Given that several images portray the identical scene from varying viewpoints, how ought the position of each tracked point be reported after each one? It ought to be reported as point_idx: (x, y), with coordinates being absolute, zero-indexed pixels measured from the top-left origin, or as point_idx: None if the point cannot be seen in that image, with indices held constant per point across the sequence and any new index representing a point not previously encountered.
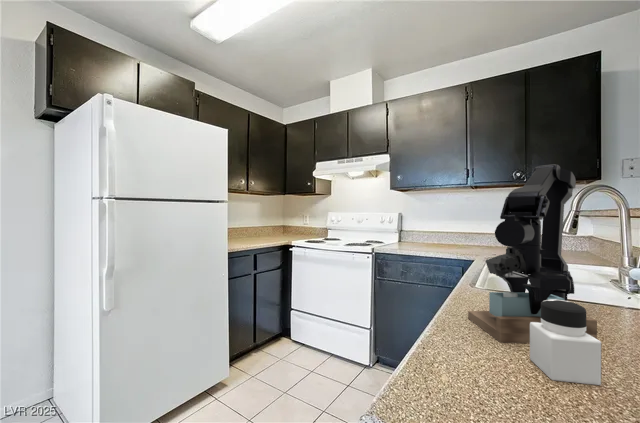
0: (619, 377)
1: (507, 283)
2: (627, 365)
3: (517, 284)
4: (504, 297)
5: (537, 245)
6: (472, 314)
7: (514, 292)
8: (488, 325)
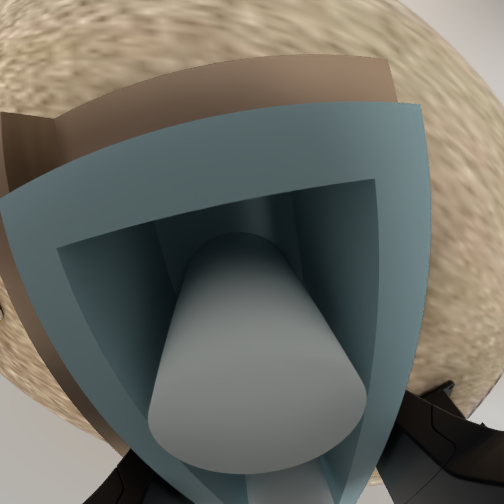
0: (4, 366)
1: (496, 433)
2: (71, 419)
3: (426, 496)
4: (43, 262)
5: None
6: (335, 57)
7: (386, 435)
8: (126, 88)
